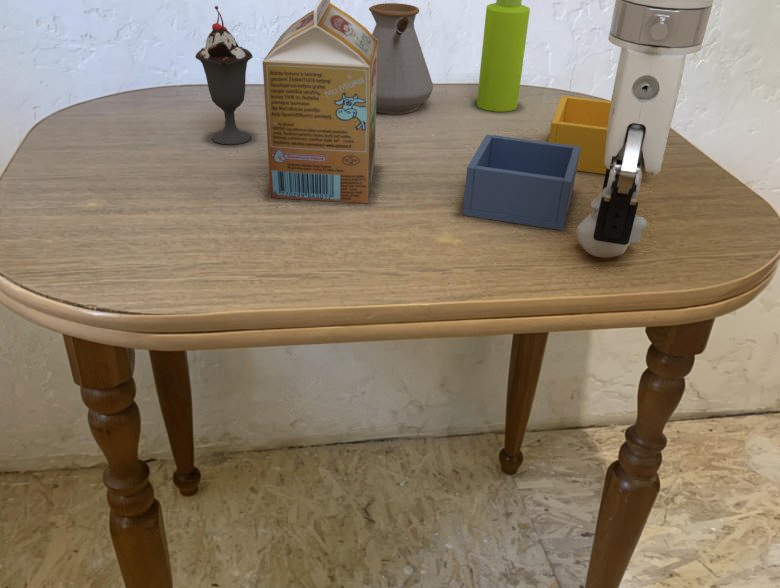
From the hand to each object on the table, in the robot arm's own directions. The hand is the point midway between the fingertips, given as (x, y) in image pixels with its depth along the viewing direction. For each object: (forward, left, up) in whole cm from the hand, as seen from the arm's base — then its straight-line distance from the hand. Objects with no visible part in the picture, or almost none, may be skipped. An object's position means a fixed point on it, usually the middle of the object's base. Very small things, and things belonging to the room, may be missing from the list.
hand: (613, 221), depth 74 cm
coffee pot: (+31, -32, -4) cm, 45 cm away
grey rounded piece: (0, 0, -4) cm, 4 cm away
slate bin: (+10, -9, -3) cm, 14 cm away
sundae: (+48, -16, -4) cm, 51 cm away
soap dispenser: (+18, -43, -4) cm, 47 cm away
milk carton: (+32, -7, -4) cm, 33 cm away
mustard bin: (+3, -27, -3) cm, 27 cm away
